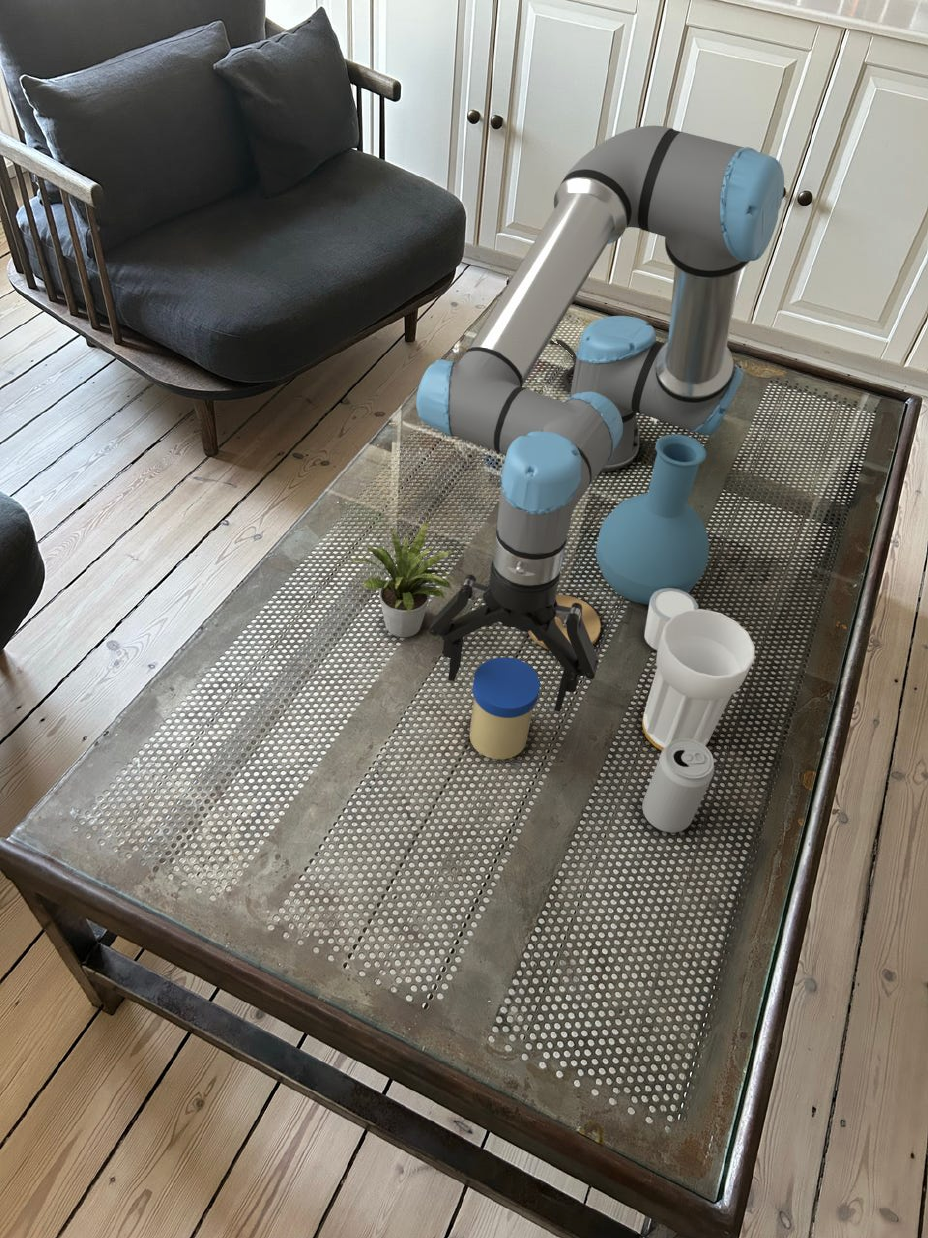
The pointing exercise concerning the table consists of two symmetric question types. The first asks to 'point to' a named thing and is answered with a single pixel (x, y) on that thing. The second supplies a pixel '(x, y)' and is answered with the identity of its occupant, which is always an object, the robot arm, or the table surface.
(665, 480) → the vase
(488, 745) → the jar
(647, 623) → the shot glass
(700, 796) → the beverage can
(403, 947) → the table surface
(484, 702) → the jar lid
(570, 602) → the coaster
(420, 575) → the house plant
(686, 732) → the cup
